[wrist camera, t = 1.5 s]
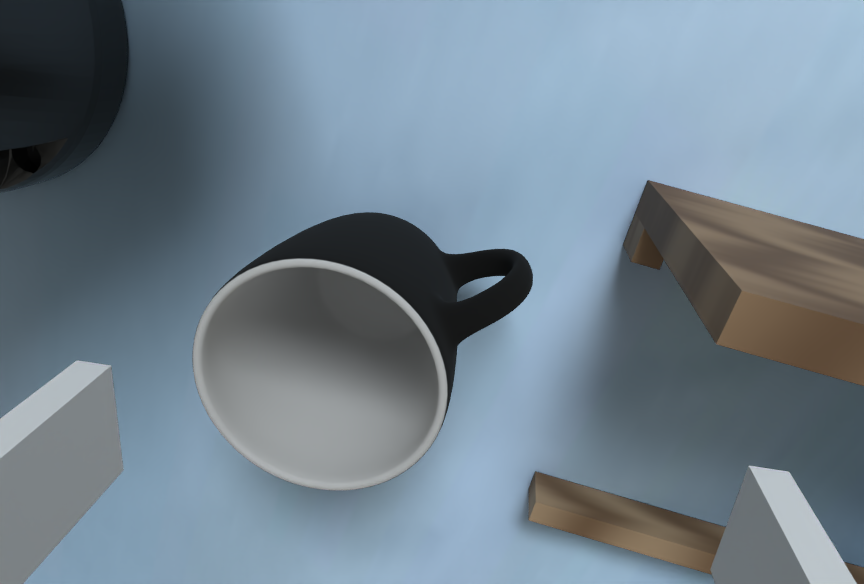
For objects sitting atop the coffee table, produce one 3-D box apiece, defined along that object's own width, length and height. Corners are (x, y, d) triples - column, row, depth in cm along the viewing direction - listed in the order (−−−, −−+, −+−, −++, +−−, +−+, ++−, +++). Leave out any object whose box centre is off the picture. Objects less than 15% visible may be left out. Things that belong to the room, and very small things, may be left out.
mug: (335, 381, 33) (260, 514, 24) (261, 223, 30) (143, 304, 21) (560, 317, 30) (574, 442, 21) (499, 136, 27) (484, 186, 18)
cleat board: (528, 488, 34) (528, 734, 22) (648, 180, 27) (741, 290, 15) (860, 586, 33) (1048, 894, 21) (1067, 295, 27) (1509, 504, 15)
